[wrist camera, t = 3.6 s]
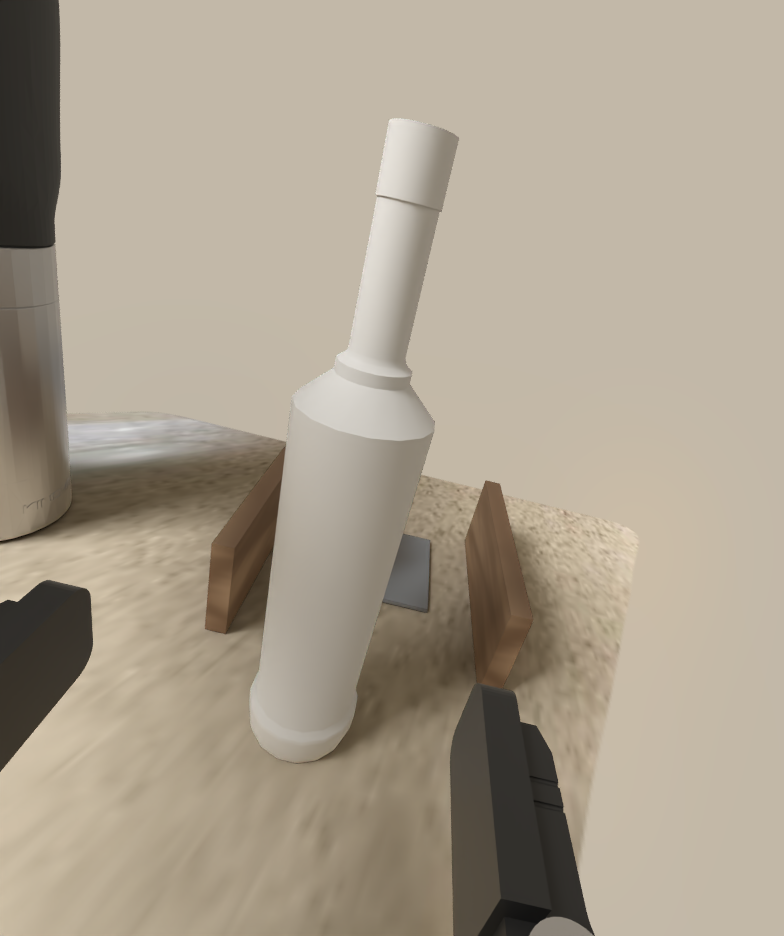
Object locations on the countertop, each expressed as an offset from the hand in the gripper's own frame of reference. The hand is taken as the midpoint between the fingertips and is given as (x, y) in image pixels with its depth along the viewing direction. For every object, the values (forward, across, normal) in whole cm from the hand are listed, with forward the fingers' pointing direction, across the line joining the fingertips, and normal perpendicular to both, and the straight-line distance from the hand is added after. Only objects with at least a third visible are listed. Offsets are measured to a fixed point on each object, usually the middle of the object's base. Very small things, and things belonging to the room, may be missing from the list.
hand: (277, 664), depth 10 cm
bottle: (+9, 0, +14) cm, 17 cm away
